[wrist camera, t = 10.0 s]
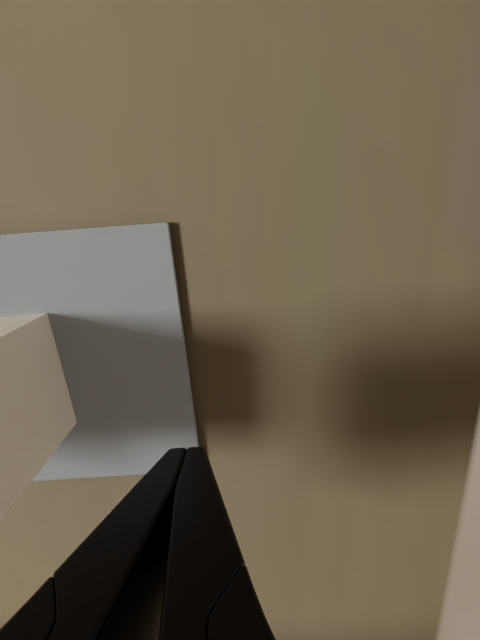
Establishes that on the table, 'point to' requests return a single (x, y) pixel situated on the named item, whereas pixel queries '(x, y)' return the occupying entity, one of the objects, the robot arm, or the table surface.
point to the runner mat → (108, 341)
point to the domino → (29, 403)
